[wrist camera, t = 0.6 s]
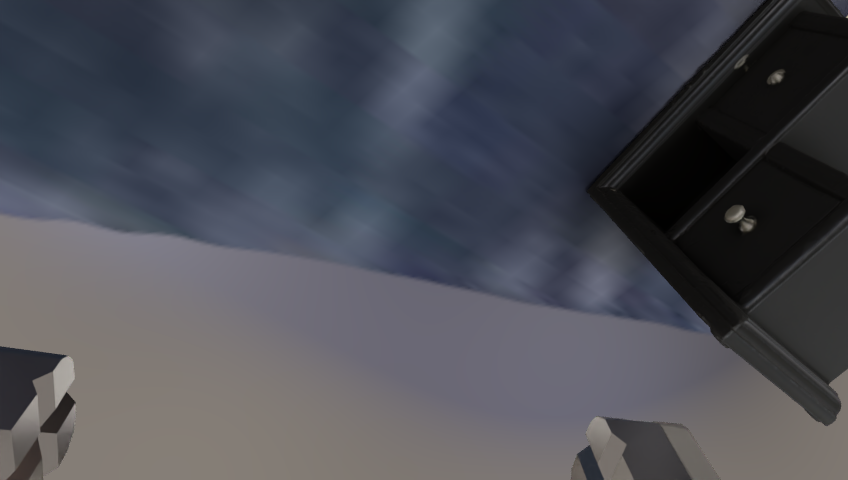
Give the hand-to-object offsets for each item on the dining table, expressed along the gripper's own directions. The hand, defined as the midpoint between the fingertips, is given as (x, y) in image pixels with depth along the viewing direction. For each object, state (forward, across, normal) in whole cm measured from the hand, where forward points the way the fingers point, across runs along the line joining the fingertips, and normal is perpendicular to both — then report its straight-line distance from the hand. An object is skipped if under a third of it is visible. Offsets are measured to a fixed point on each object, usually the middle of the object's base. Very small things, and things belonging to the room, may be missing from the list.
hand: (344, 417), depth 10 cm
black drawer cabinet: (+43, -31, +2) cm, 53 cm away
